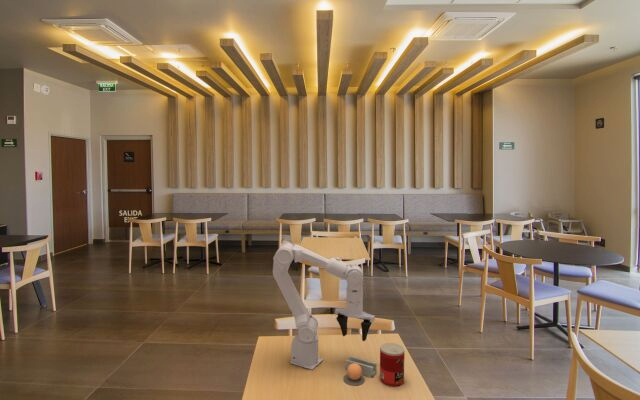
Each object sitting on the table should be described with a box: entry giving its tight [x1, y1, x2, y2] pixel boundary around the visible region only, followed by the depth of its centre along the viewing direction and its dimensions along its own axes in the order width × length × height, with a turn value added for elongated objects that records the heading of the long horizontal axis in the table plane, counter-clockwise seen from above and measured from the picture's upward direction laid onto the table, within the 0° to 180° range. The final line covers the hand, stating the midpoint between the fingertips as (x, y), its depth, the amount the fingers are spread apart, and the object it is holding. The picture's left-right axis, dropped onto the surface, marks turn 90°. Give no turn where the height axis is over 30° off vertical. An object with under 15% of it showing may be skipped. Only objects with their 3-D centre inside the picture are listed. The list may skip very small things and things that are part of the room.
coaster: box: [343, 374, 366, 387], centre depth 125 cm, size 7×7×1 cm
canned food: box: [379, 342, 405, 387], centre depth 125 cm, size 8×8×11 cm
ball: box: [346, 363, 363, 380], centre depth 125 cm, size 5×5×5 cm
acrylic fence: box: [345, 355, 377, 378], centre depth 130 cm, size 10×3×4 cm, turn 60°
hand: (354, 337), depth 134 cm, fingers open, 7 cm apart
